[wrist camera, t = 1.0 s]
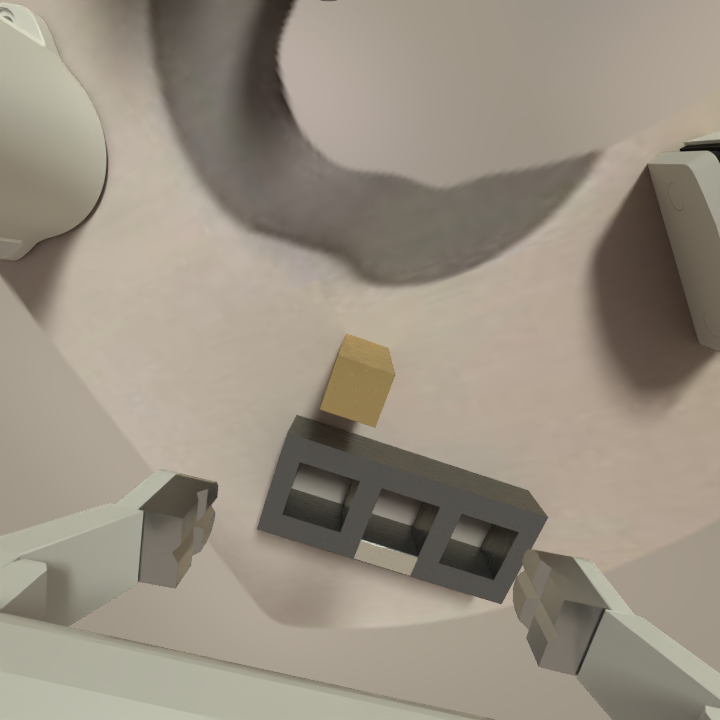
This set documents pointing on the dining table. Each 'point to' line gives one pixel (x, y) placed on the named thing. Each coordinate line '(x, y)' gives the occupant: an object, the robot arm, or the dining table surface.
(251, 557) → the dining table surface
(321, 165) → the dining table surface
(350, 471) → the grey peg holder
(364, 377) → the brass peg
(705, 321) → the grey rounded block
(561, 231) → the dining table surface
